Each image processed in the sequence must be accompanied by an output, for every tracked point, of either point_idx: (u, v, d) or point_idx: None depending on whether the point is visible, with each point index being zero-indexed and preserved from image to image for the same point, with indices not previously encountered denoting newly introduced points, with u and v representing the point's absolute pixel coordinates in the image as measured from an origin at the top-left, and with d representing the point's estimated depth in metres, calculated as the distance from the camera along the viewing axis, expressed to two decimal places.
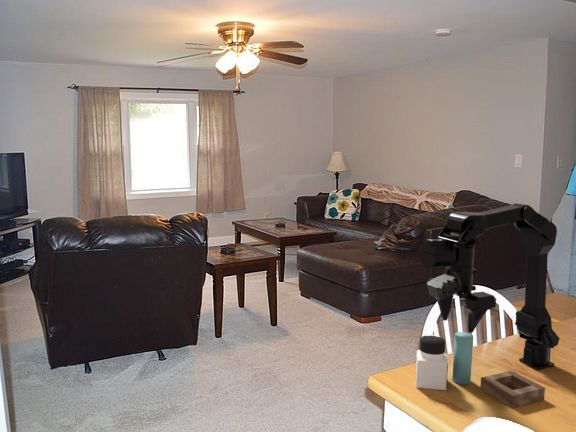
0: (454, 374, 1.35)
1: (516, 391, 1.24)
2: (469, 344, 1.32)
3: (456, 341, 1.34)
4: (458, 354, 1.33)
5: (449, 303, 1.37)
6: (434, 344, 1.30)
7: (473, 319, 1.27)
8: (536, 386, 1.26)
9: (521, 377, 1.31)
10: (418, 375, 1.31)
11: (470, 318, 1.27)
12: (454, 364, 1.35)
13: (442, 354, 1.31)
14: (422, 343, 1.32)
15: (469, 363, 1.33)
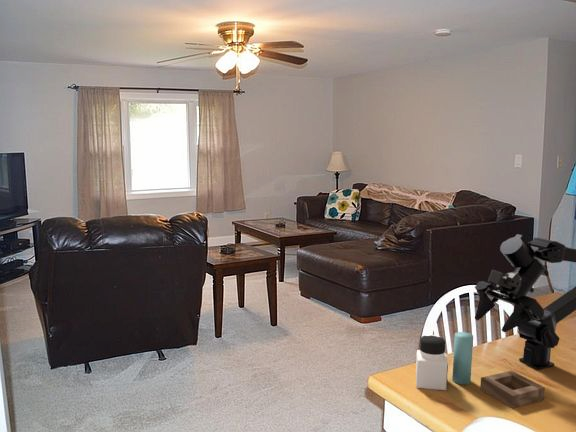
0: (454, 374, 1.35)
1: (516, 391, 1.24)
2: (469, 344, 1.32)
3: (456, 341, 1.34)
4: (458, 354, 1.33)
5: (487, 309, 1.43)
6: (434, 344, 1.30)
7: (514, 319, 1.32)
8: (536, 386, 1.26)
9: (521, 377, 1.31)
10: (418, 375, 1.31)
11: (512, 317, 1.32)
12: (454, 364, 1.35)
13: (442, 354, 1.31)
14: (422, 343, 1.32)
15: (469, 363, 1.33)
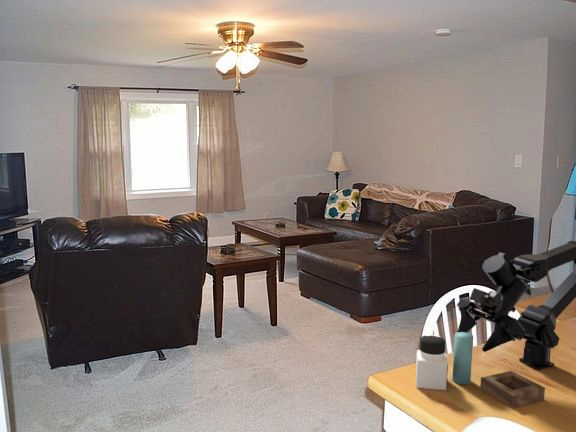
0: (454, 374, 1.35)
1: (516, 391, 1.24)
2: (469, 344, 1.32)
3: (456, 341, 1.34)
4: (458, 354, 1.33)
5: (469, 328, 1.41)
6: (434, 344, 1.30)
7: (494, 339, 1.30)
8: (536, 386, 1.26)
9: (521, 377, 1.31)
10: (418, 375, 1.31)
11: (493, 336, 1.30)
12: (454, 364, 1.35)
13: (442, 354, 1.31)
14: (422, 343, 1.32)
15: (469, 363, 1.33)
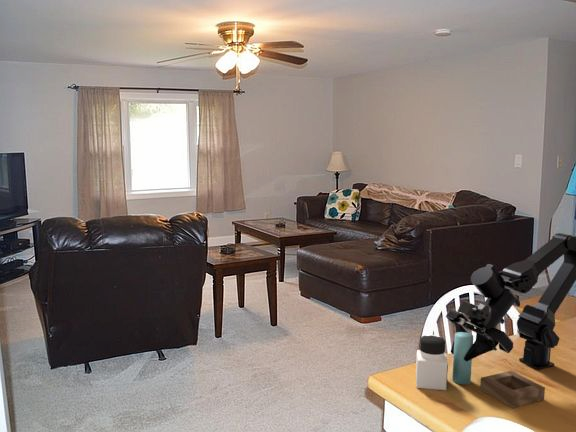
0: (454, 374, 1.35)
1: (516, 391, 1.24)
2: (469, 344, 1.32)
3: (456, 341, 1.34)
4: (458, 354, 1.33)
5: None
6: (434, 344, 1.30)
7: (476, 349, 1.32)
8: (536, 386, 1.26)
9: (521, 377, 1.31)
10: (418, 375, 1.31)
11: (474, 346, 1.32)
12: (454, 364, 1.35)
13: (442, 354, 1.31)
14: (422, 343, 1.32)
15: (469, 363, 1.33)
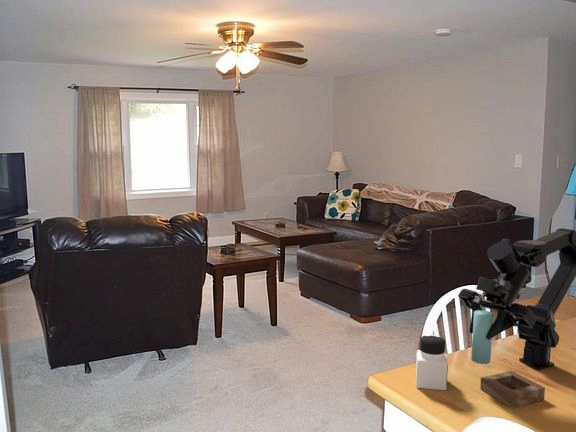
0: (474, 354, 1.30)
1: (516, 391, 1.24)
2: (490, 322, 1.28)
3: (477, 319, 1.29)
4: (479, 332, 1.29)
5: None
6: (434, 344, 1.30)
7: (498, 326, 1.28)
8: (536, 386, 1.26)
9: (521, 377, 1.31)
10: (418, 375, 1.31)
11: (496, 323, 1.28)
12: (474, 344, 1.30)
13: (442, 354, 1.31)
14: (422, 343, 1.32)
15: (490, 341, 1.29)
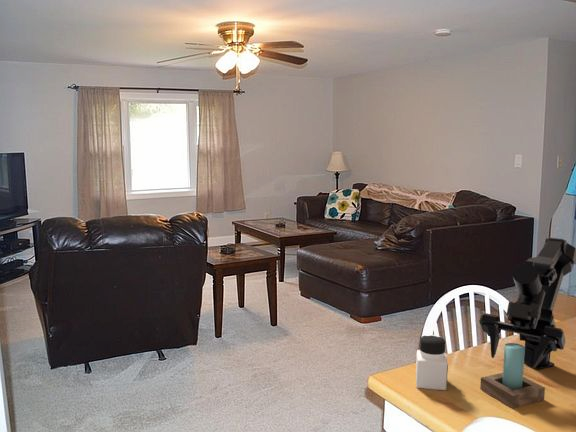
0: None
1: (516, 391, 1.24)
2: (523, 355, 1.26)
3: (511, 354, 1.26)
4: (513, 367, 1.26)
5: (497, 344, 1.32)
6: (434, 344, 1.30)
7: (542, 353, 1.24)
8: (536, 386, 1.26)
9: None
10: (418, 375, 1.31)
11: (540, 350, 1.24)
12: (508, 379, 1.27)
13: (442, 354, 1.31)
14: (422, 343, 1.32)
15: (522, 375, 1.27)
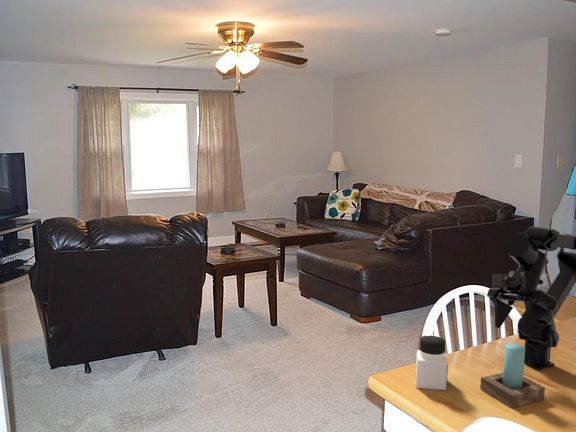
0: None
1: (516, 391, 1.24)
2: (524, 355, 1.26)
3: (511, 354, 1.26)
4: (513, 367, 1.26)
5: (505, 314, 1.40)
6: (434, 344, 1.30)
7: (529, 317, 1.29)
8: (536, 386, 1.26)
9: None
10: (418, 375, 1.31)
11: (526, 314, 1.29)
12: (508, 379, 1.27)
13: (442, 354, 1.31)
14: (422, 343, 1.32)
15: (522, 375, 1.27)
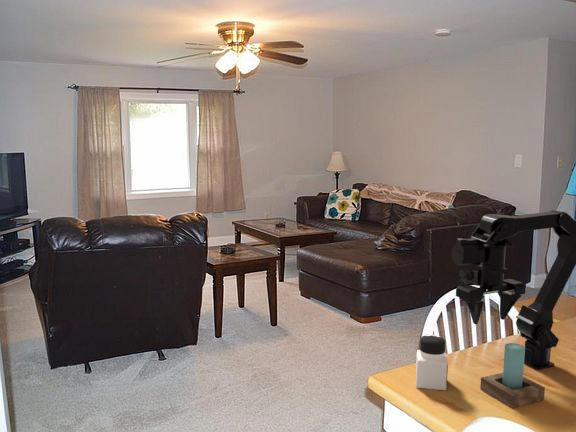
0: None
1: (516, 391, 1.24)
2: (524, 355, 1.26)
3: (511, 355, 1.25)
4: (514, 367, 1.26)
5: (507, 305, 1.41)
6: (434, 344, 1.30)
7: (470, 310, 1.39)
8: (536, 386, 1.26)
9: None
10: (418, 375, 1.31)
11: None
12: (508, 379, 1.27)
13: (442, 354, 1.31)
14: (422, 343, 1.32)
15: (522, 375, 1.27)
